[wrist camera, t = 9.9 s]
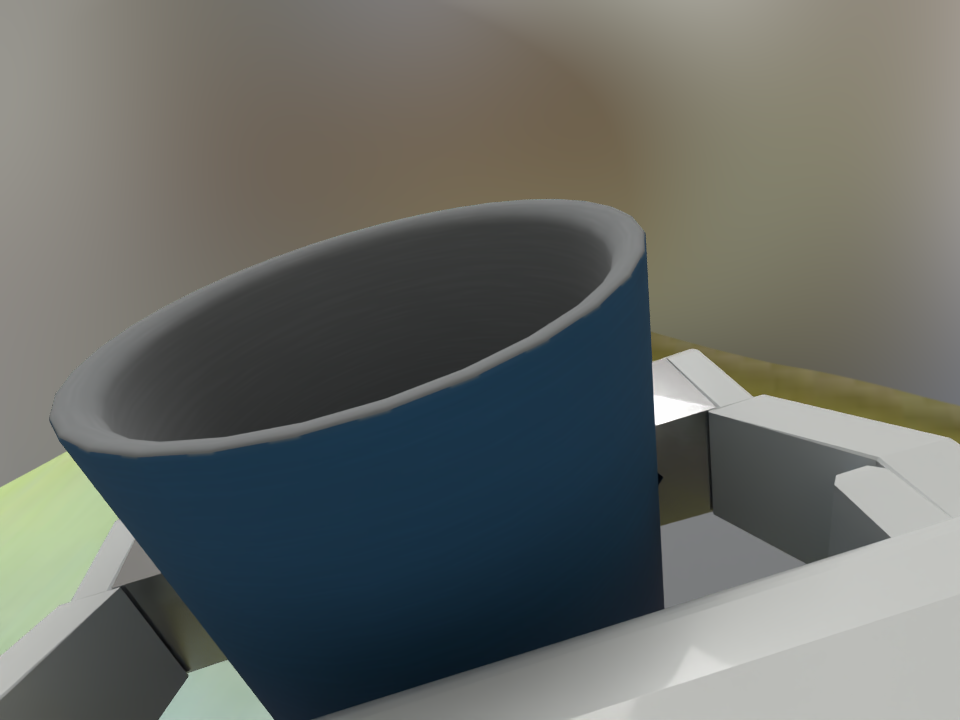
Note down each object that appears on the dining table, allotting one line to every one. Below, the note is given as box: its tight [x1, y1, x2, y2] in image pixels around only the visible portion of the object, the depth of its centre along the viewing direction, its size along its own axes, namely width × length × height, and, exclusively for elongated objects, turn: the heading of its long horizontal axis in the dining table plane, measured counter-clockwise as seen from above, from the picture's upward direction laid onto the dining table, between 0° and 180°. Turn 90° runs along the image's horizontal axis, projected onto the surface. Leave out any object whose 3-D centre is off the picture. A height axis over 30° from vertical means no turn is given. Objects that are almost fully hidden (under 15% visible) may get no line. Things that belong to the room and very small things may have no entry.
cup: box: [49, 199, 665, 720], centre depth 10 cm, size 7×7×15 cm
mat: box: [660, 512, 806, 609], centre depth 25 cm, size 12×20×1 cm, turn 11°
